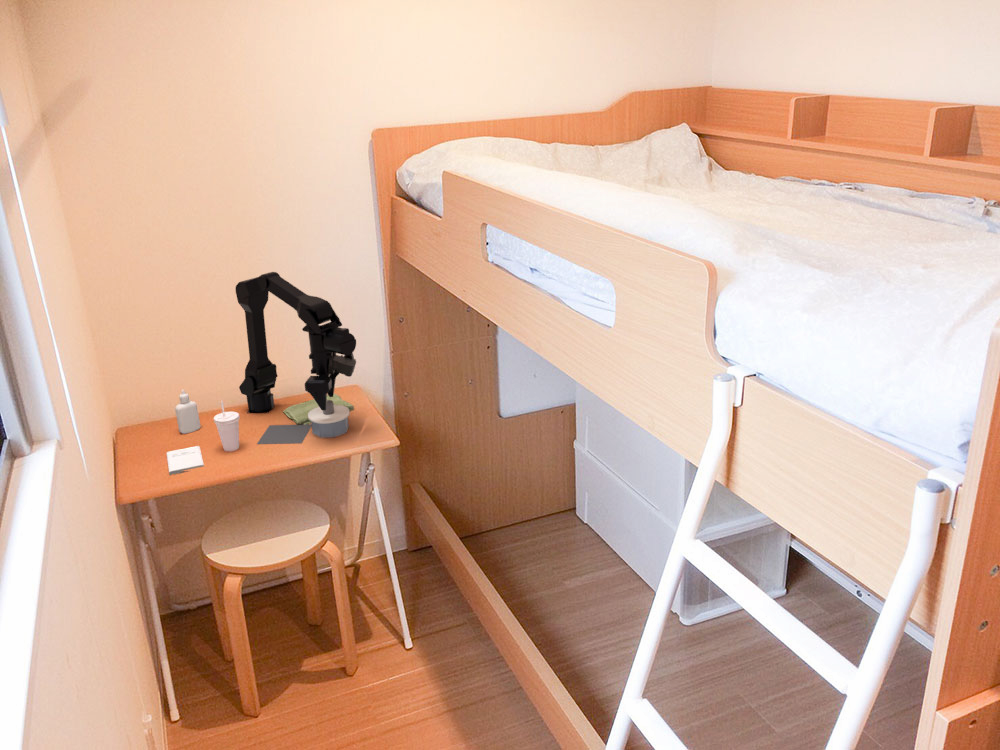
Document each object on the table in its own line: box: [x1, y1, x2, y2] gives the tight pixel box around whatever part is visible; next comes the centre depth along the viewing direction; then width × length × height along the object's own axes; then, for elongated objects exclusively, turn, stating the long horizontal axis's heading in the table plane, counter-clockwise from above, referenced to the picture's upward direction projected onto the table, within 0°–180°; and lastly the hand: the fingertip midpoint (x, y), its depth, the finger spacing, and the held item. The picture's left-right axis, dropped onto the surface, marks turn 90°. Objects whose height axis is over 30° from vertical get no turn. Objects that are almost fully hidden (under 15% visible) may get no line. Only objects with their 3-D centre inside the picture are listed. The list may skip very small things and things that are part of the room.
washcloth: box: [282, 393, 355, 425], centre depth 230 cm, size 13×18×3 cm
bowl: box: [311, 416, 349, 439], centre depth 217 cm, size 9×9×5 cm
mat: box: [256, 424, 312, 445], centre depth 216 cm, size 12×12×1 cm
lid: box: [308, 400, 351, 424], centre depth 216 cm, size 11×11×4 cm
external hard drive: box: [166, 445, 205, 476], centre depth 204 cm, size 2×8×12 cm
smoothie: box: [213, 400, 241, 452], centre depth 207 cm, size 6×6×14 cm
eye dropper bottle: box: [174, 389, 202, 435], centre depth 220 cm, size 4×6×12 cm
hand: (327, 403), depth 215 cm, fingers open, 9 cm apart
